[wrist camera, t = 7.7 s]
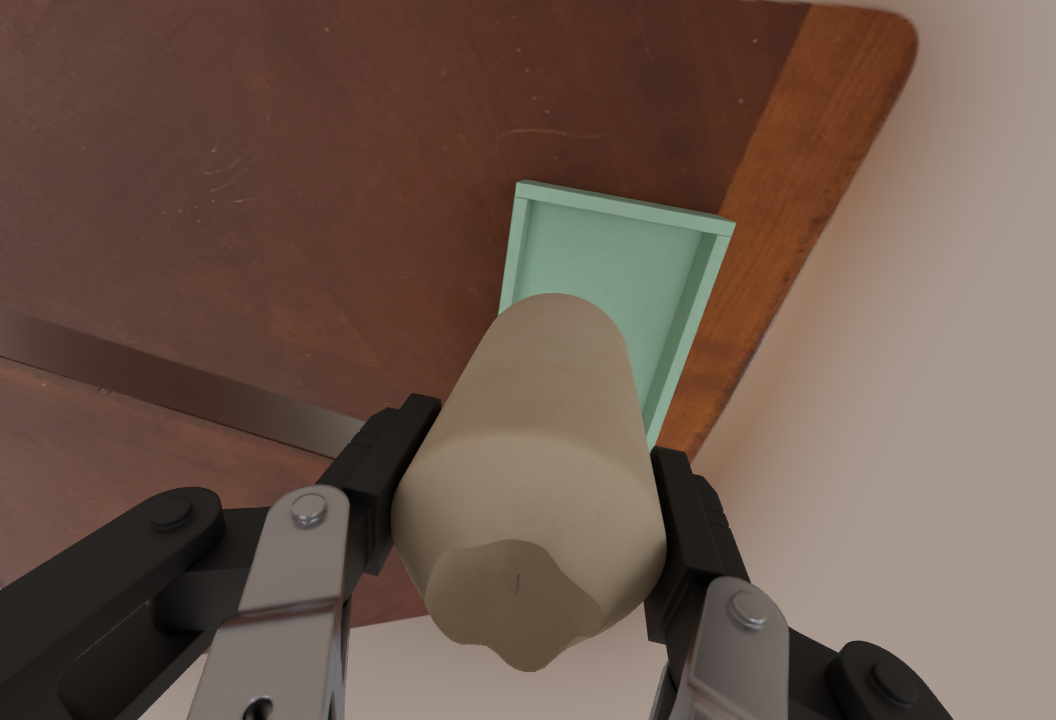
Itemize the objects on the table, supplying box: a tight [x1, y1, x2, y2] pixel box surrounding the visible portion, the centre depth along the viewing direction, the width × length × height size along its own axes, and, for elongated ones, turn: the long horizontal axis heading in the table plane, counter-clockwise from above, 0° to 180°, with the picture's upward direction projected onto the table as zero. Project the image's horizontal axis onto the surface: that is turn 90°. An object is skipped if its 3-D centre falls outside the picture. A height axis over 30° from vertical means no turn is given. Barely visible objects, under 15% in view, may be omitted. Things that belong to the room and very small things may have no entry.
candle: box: [391, 293, 667, 672], centre depth 12 cm, size 6×6×10 cm
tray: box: [498, 179, 736, 454], centre depth 30 cm, size 20×13×4 cm, turn 171°
